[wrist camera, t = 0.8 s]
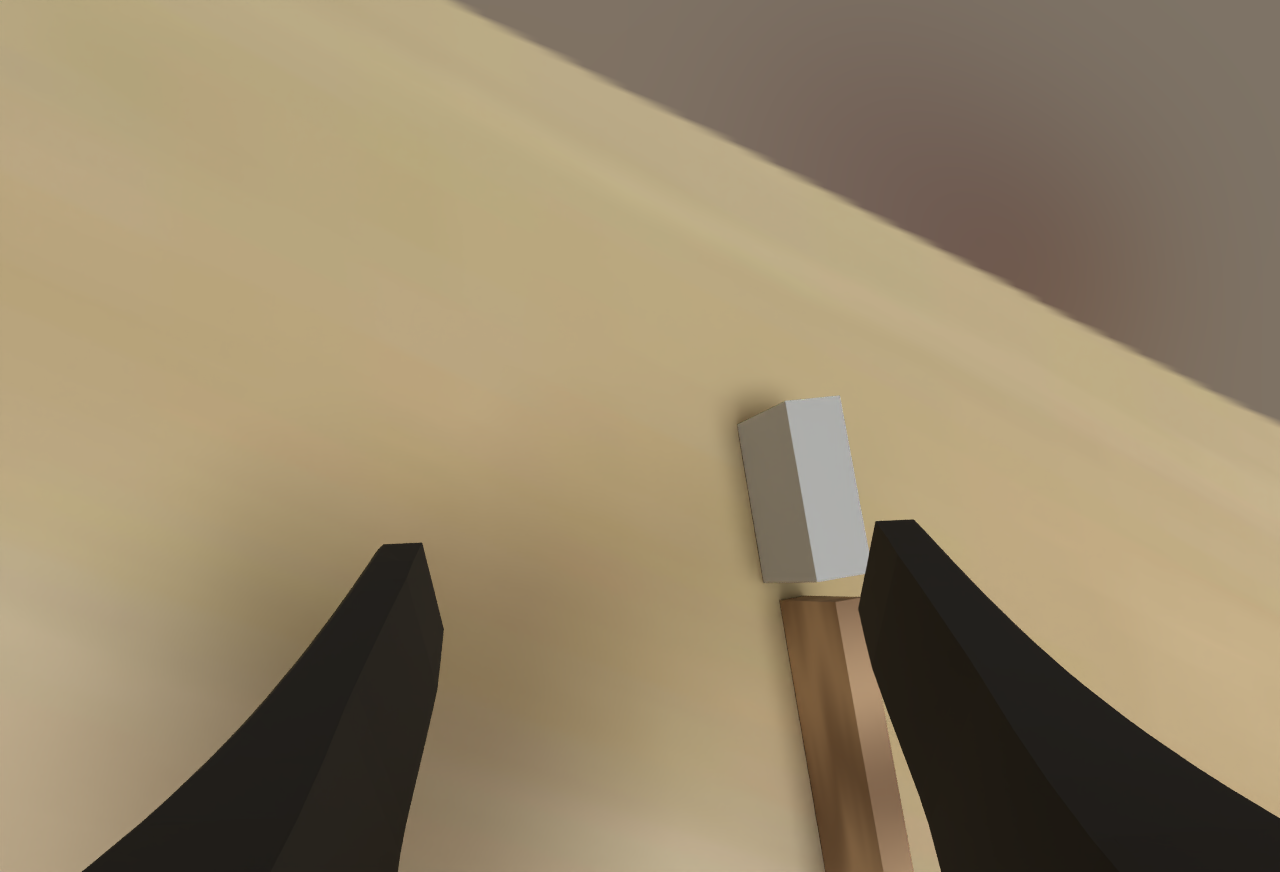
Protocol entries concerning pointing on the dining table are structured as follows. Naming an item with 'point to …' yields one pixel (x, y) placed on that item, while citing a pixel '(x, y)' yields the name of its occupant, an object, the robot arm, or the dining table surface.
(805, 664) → the door
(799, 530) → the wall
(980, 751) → the robot arm
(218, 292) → the dining table surface
